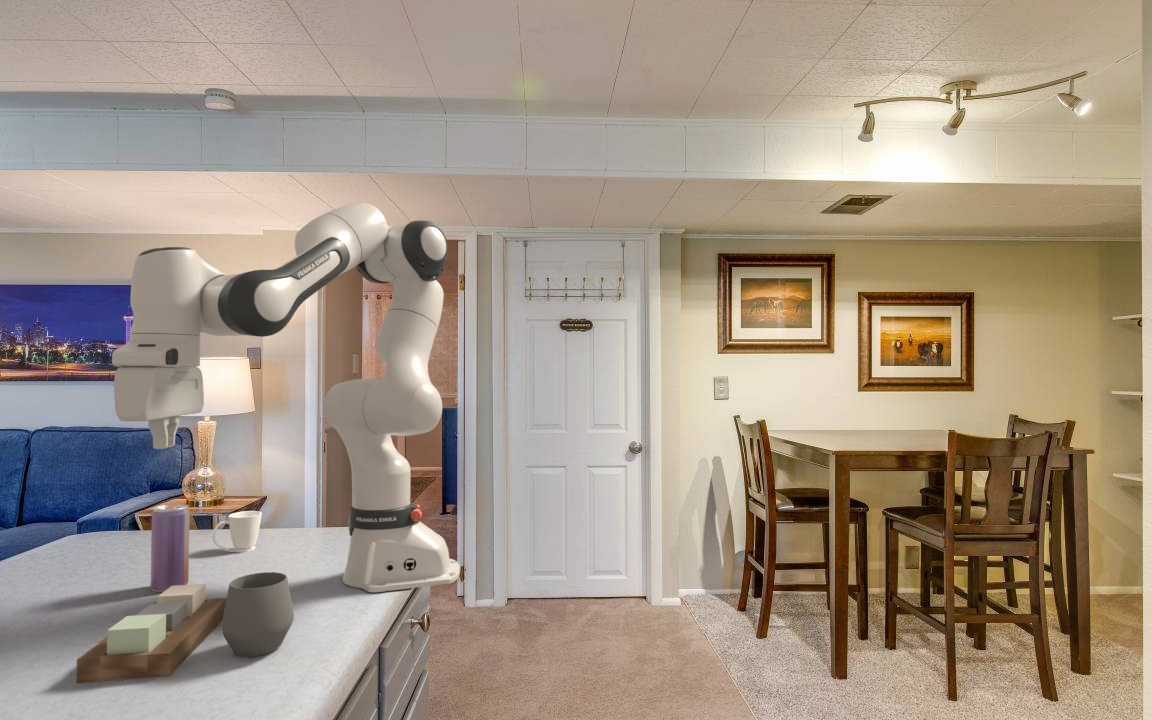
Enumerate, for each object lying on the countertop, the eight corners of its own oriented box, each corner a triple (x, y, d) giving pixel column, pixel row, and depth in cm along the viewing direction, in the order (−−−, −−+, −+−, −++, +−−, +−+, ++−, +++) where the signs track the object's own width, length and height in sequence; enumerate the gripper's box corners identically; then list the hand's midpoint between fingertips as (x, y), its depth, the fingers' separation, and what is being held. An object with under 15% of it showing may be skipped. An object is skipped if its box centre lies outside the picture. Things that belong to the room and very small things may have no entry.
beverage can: (170, 594, 115) (171, 511, 115) (142, 591, 116) (143, 509, 116) (196, 583, 121) (197, 504, 121) (169, 581, 122) (170, 503, 122)
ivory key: (205, 611, 104) (205, 584, 104) (192, 623, 99) (192, 594, 99) (171, 613, 103) (172, 585, 103) (156, 625, 98) (157, 596, 98)
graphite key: (186, 630, 97) (187, 601, 97) (171, 644, 92) (172, 614, 92) (150, 633, 96) (151, 603, 96) (133, 647, 91) (134, 616, 91)
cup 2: (217, 668, 87) (218, 594, 87) (224, 641, 95) (225, 574, 95) (293, 656, 90) (294, 585, 90) (293, 631, 99) (294, 567, 99)
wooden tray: (227, 615, 105) (227, 597, 105) (169, 675, 84) (169, 653, 84) (153, 620, 103) (154, 601, 103) (76, 682, 82) (76, 659, 82)
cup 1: (265, 550, 143) (266, 514, 144) (215, 558, 137) (216, 521, 137) (257, 543, 149) (258, 509, 149) (209, 551, 142) (209, 515, 142)
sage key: (165, 645, 90) (166, 613, 90) (148, 660, 85) (148, 627, 85) (126, 647, 89) (127, 616, 89) (106, 663, 84) (107, 630, 84)
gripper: (173, 356, 104) (172, 440, 104) (104, 352, 84) (102, 457, 84) (215, 356, 105) (214, 440, 105) (156, 353, 85) (155, 456, 85)
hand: (164, 447), depth 94 cm, fingers closed
